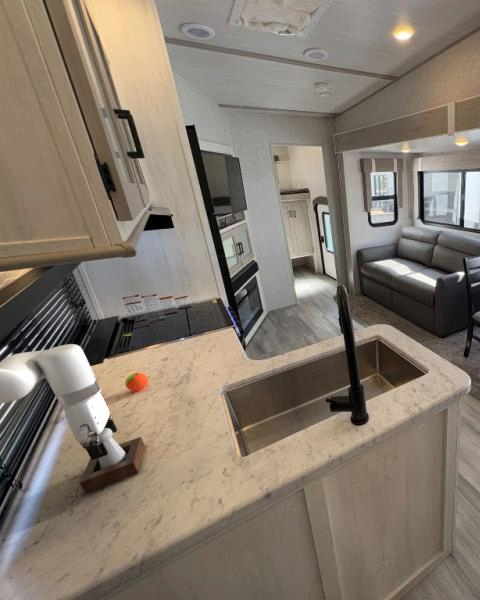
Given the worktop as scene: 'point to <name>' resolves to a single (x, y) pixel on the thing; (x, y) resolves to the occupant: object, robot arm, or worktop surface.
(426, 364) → the worktop surface
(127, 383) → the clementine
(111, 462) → the salt shaker
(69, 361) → the robot arm
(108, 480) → the holder
